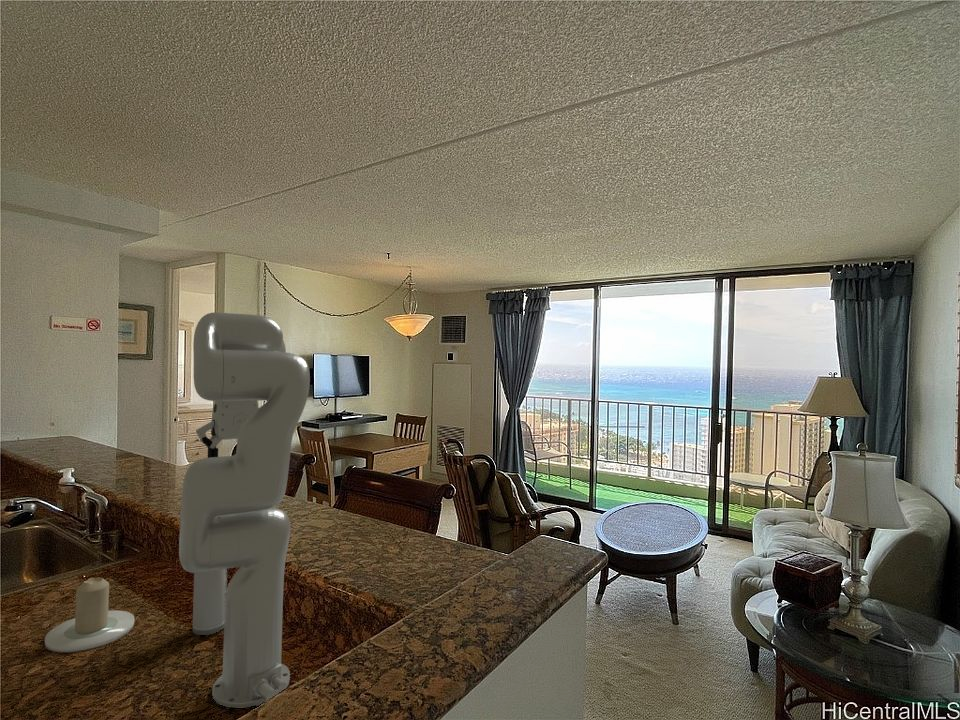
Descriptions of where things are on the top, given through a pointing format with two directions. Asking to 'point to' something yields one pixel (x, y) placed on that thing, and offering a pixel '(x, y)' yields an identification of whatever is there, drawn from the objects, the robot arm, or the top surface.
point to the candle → (92, 606)
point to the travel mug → (209, 601)
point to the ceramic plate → (70, 641)
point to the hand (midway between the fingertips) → (234, 461)
